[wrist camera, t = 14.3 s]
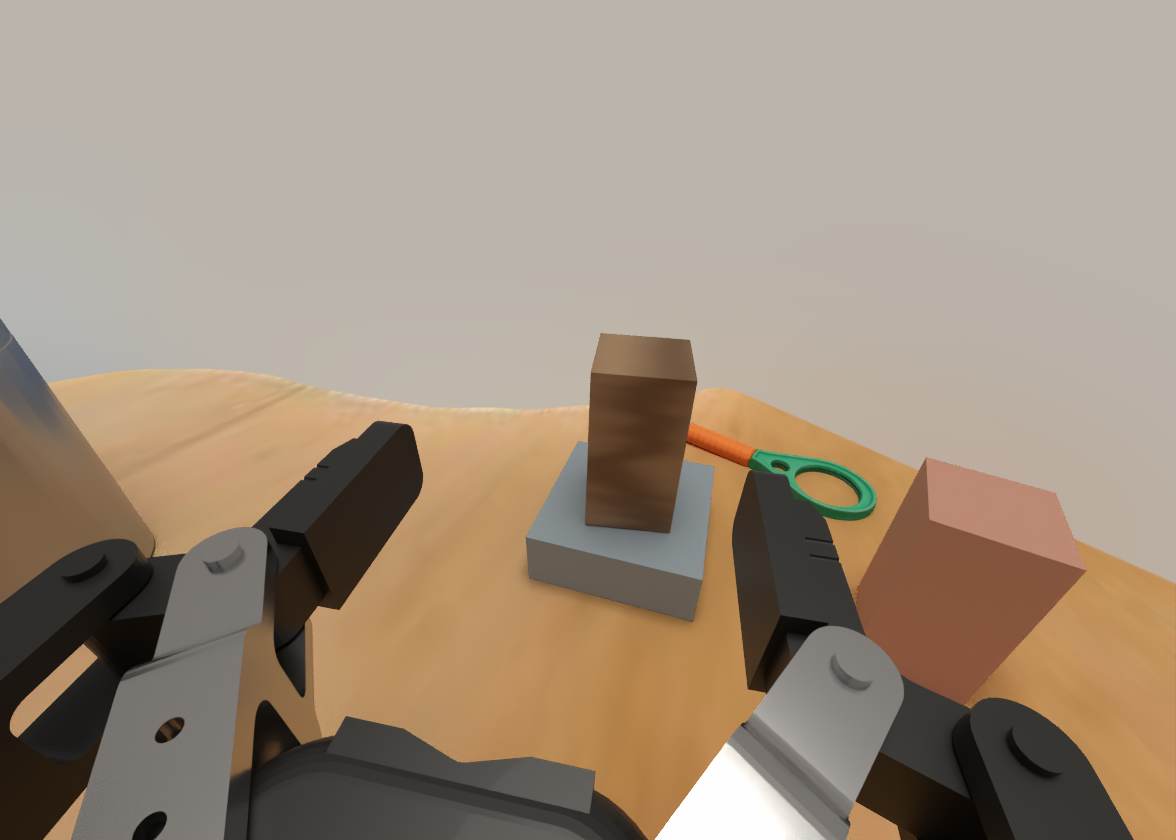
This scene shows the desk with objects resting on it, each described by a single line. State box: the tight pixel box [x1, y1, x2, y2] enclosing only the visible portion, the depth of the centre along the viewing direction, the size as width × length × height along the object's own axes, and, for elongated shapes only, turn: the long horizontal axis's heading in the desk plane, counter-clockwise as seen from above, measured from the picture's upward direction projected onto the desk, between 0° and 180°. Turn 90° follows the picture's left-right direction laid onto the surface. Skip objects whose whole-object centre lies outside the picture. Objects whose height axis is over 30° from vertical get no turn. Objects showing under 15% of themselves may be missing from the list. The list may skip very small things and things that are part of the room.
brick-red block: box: [856, 457, 1087, 705], centre depth 23 cm, size 5×5×10 cm
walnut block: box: [585, 333, 697, 533], centre depth 26 cm, size 5×5×10 cm
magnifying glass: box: [687, 423, 877, 521], centre depth 38 cm, size 15×6×2 cm, turn 53°
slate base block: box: [526, 441, 714, 622], centre depth 30 cm, size 10×10×4 cm
